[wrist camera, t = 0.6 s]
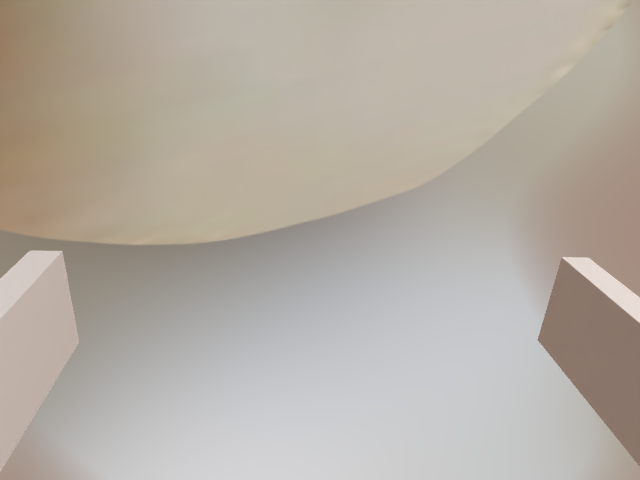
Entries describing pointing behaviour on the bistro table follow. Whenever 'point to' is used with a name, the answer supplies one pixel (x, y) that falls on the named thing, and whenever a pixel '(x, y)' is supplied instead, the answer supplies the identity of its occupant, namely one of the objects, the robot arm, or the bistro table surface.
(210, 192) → the bistro table surface
